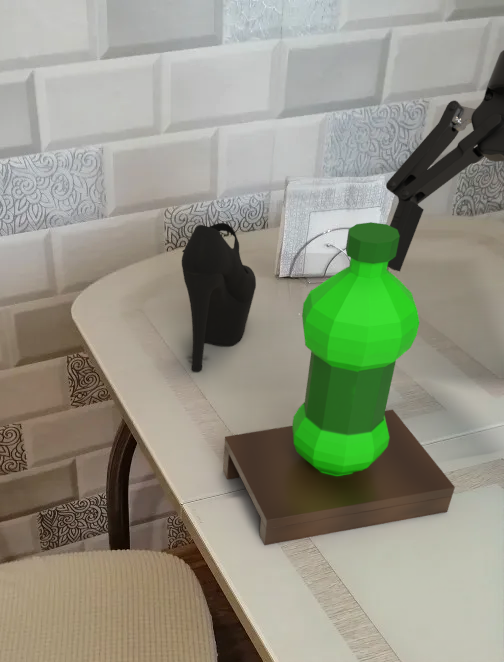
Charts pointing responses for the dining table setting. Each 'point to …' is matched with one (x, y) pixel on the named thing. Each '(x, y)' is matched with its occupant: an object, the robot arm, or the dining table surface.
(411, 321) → the plastic bottle
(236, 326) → the high-heeled shoe
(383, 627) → the dining table surface
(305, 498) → the wooden display riser
